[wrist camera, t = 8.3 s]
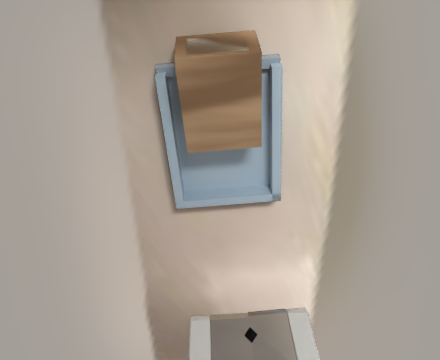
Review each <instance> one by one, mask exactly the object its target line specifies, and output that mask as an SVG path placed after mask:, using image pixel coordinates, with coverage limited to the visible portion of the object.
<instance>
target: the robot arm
mask: <svg viewBox="0 0 440 360" xmlns="http://www.w3.org/2000/svg"><path fill="white" fill-rule="evenodd" d="M189 360H320V357H319V353H318V349H317V345H316V342H315V338H314V335H313V330H312V327H311V323H310V319H309V316H308V312H307V310H306V309H305V308H294V309H286V310H285V309H277V310H267V311H256V312H248V313H241V314H222V315H211V316H210V315H204V316H191V319H190V334H189Z"/></svg>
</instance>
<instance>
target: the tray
mask: <svg viewBox="0 0 440 360" xmlns="http://www.w3.org/2000/svg"><path fill="white" fill-rule="evenodd" d="M155 70H156V75H155V81H156V88H157V94H158V100H159V106H160V112H161V118H162V124H163V130H164V136H165V142H166V149H167V155H168V161H169V167H170V173H171V179H172V185H173V191H174V197H175V203H176V209H182V208H195V207H207V206H219V205H232V204H244V203H256V202H269V201H281V136H282V65H281V63H280V56H279V54H273V55H262V147H255V148H243V149H231V150H218V151H206V152H194V153H188V151H187V144H186V137H185V131H184V124H183V117H182V110H181V103H180V96H179V90H178V83H177V76H176V69H175V63H165V64H156V67H155Z"/></svg>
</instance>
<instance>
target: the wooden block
mask: <svg viewBox="0 0 440 360" xmlns="http://www.w3.org/2000/svg"><path fill="white" fill-rule="evenodd" d="M174 62H175V69H176V76H177V83H178V90H179V96H180V103H181V110H182V117H183V124H184V131H185V137H186V144H187V151H188V153H194V152H206V151H218V150H231V149H243V148H255V147H262V52H261V48H260V45H259V42H258V38H257V35H256V32H255V30H253V31H241V32H229V33H217V34H205V35H193V36H181V37H176V43H175V55H174Z"/></svg>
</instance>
